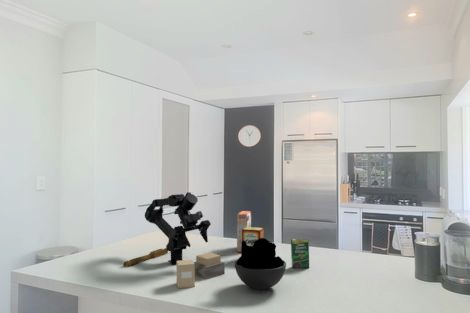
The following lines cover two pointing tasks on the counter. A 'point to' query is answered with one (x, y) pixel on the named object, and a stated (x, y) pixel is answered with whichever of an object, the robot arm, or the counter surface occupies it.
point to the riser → (209, 270)
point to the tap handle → (146, 257)
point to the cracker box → (242, 226)
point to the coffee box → (300, 253)
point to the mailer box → (185, 274)
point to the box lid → (208, 259)
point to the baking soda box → (252, 235)
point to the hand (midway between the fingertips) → (198, 244)
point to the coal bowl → (260, 265)
